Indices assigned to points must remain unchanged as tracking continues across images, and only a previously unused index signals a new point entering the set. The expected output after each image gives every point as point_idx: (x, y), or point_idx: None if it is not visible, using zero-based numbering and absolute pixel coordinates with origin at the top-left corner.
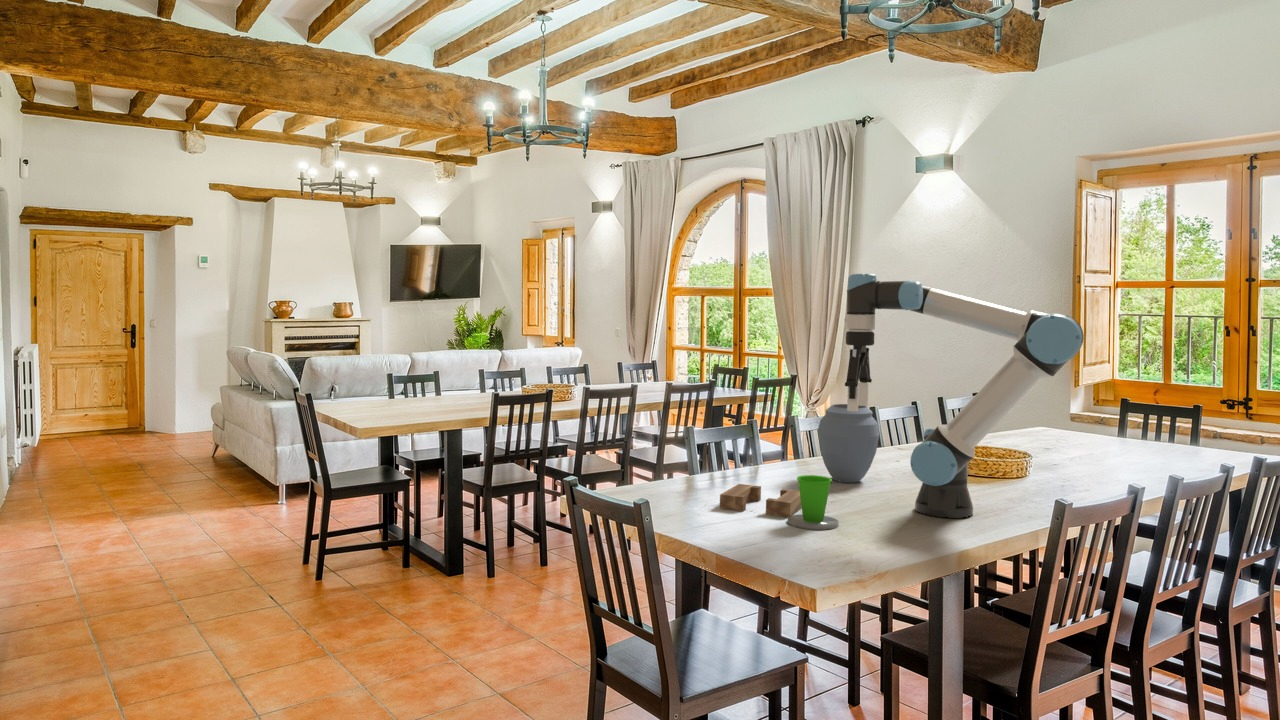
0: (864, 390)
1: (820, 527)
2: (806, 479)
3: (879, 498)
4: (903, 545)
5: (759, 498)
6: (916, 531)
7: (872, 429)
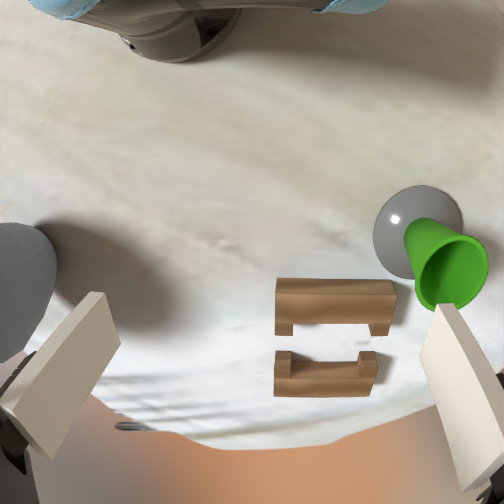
0: (56, 384)
1: (459, 213)
2: (424, 295)
3: (126, 156)
4: (489, 64)
5: (282, 353)
6: (390, 34)
7: None
